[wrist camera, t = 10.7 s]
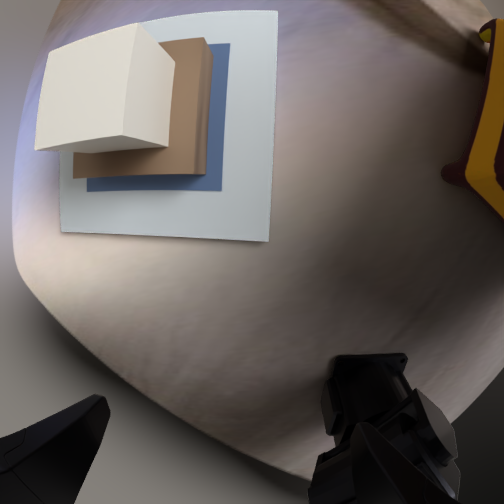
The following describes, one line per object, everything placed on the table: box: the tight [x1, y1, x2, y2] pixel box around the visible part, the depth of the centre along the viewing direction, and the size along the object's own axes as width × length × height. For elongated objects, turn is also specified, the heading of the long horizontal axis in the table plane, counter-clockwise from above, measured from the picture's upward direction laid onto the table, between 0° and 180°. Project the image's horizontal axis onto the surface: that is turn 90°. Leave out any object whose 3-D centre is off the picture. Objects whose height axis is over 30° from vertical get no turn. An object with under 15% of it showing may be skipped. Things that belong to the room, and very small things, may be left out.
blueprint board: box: [59, 10, 278, 242], centre depth 15 cm, size 16×16×4 cm
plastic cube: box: [34, 23, 175, 153], centre depth 11 cm, size 5×5×5 cm
